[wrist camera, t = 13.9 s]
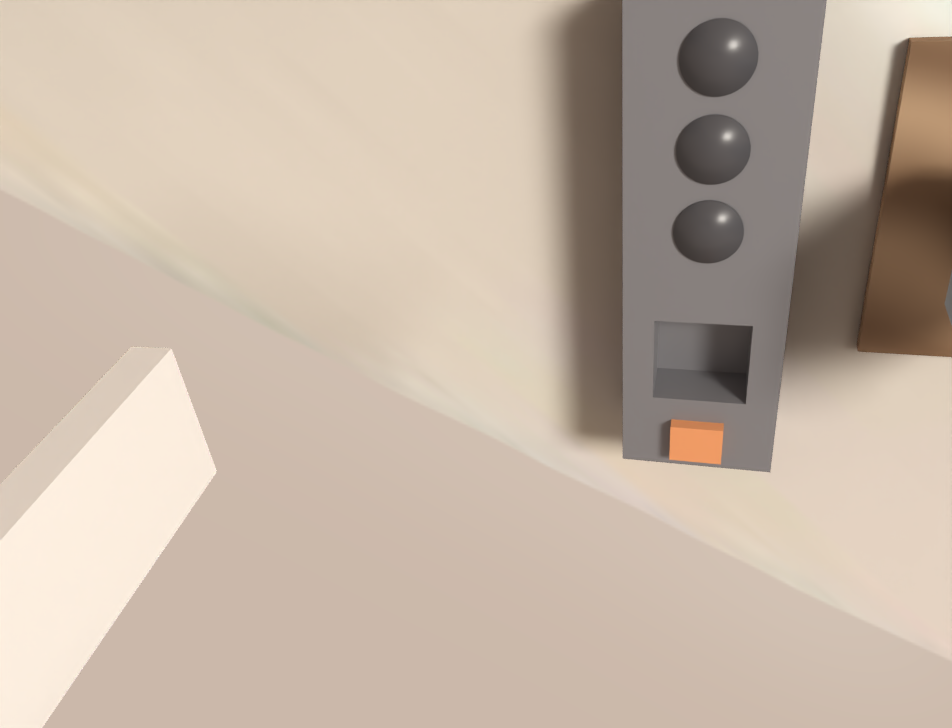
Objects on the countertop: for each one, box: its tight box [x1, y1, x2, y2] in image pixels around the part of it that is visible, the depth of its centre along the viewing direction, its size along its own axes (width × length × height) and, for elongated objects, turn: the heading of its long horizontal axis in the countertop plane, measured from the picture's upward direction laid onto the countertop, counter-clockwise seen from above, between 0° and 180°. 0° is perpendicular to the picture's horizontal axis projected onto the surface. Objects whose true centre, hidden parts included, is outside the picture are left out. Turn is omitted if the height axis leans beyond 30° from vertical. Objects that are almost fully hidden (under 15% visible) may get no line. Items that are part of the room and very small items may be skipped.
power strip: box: [622, 0, 827, 472], centre depth 36 cm, size 29×7×5 cm, turn 6°
